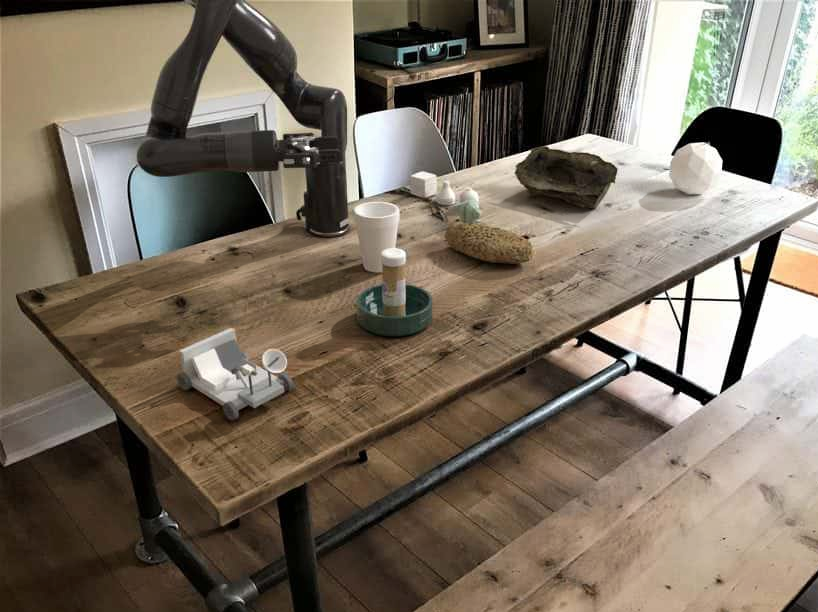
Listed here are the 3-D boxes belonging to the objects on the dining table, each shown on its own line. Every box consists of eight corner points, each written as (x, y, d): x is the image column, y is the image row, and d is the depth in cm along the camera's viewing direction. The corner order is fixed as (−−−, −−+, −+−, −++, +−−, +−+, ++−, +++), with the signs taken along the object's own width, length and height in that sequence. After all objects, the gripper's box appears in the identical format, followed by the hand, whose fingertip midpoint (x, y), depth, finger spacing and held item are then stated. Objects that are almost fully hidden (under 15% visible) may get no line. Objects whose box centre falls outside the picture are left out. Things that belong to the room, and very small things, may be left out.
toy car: (300, 346, 123) (238, 376, 115) (304, 398, 128) (246, 430, 120) (229, 309, 132) (168, 334, 125) (236, 359, 138) (178, 386, 130)
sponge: (439, 255, 180) (494, 269, 165) (441, 220, 178) (497, 231, 163) (484, 252, 188) (540, 265, 173) (486, 219, 186) (543, 229, 171)
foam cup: (406, 261, 174) (406, 205, 167) (389, 278, 166) (388, 220, 160) (367, 254, 177) (365, 199, 170) (349, 271, 169) (346, 213, 162)
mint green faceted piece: (450, 225, 193) (451, 199, 189) (459, 220, 196) (460, 194, 192) (477, 233, 189) (478, 206, 185) (486, 228, 192) (488, 201, 188)
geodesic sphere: (685, 156, 226) (680, 123, 215) (734, 166, 219) (731, 132, 208) (663, 198, 223) (657, 166, 211) (712, 209, 216) (708, 177, 204)
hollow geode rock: (610, 230, 205) (636, 181, 206) (596, 208, 194) (624, 156, 195) (522, 201, 219) (547, 155, 221) (505, 178, 208) (531, 130, 210)
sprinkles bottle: (377, 317, 150) (375, 252, 143) (394, 309, 153) (393, 245, 146) (394, 325, 148) (393, 259, 141) (411, 316, 151) (411, 252, 144)
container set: (410, 195, 210) (410, 175, 207) (422, 190, 213) (422, 170, 211) (470, 213, 200) (471, 192, 197) (482, 207, 203) (483, 187, 201)
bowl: (345, 330, 147) (343, 309, 145) (376, 298, 159) (376, 278, 156) (415, 345, 143) (415, 323, 141) (442, 310, 155) (443, 290, 153)
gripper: (247, 142, 140) (340, 140, 143) (250, 121, 152) (335, 119, 155) (252, 183, 144) (342, 180, 147) (254, 159, 156) (337, 156, 159)
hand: (338, 148), depth 151 cm, fingers open, 8 cm apart
